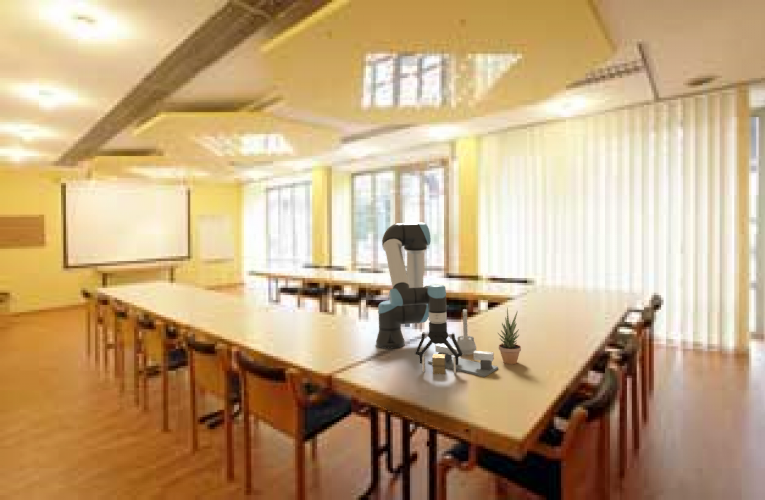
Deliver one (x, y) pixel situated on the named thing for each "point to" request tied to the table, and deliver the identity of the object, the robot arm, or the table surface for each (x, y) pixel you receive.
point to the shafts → (477, 354)
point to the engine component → (466, 338)
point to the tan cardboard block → (438, 363)
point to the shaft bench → (469, 366)
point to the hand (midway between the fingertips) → (439, 371)
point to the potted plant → (509, 342)
